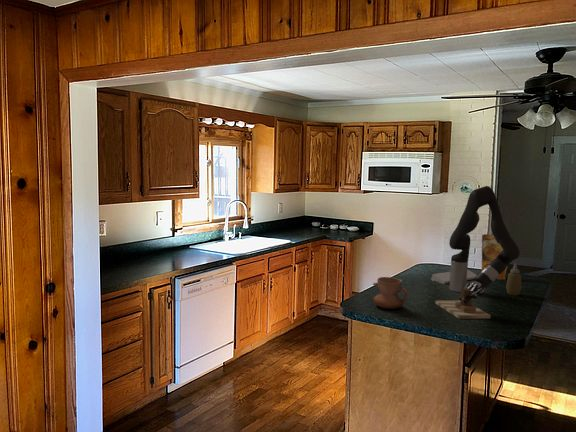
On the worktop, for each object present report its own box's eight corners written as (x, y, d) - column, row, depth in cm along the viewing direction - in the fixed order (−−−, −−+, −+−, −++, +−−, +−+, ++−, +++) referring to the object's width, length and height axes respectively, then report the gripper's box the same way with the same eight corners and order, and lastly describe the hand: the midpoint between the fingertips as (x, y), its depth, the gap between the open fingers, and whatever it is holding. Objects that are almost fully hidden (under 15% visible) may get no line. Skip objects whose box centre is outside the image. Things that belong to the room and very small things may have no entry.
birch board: (435, 303, 257) (435, 300, 257) (463, 302, 260) (463, 300, 260) (459, 318, 232) (459, 315, 232) (490, 318, 234) (490, 315, 234)
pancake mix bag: (480, 274, 334) (483, 233, 331) (509, 279, 321) (513, 237, 318) (476, 275, 329) (479, 234, 326) (506, 280, 316) (509, 237, 313)
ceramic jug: (366, 307, 246) (368, 279, 244) (377, 300, 258) (379, 274, 256) (401, 314, 237) (403, 286, 235) (410, 307, 249) (413, 280, 247)
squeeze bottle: (506, 291, 287) (508, 261, 285) (521, 294, 283) (524, 263, 281) (504, 294, 280) (507, 263, 278) (520, 297, 276) (522, 265, 274)
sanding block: (455, 306, 246) (456, 287, 245) (466, 306, 247) (467, 287, 246) (463, 312, 237) (465, 292, 236) (475, 312, 238) (477, 291, 237)
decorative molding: (477, 282, 321) (464, 275, 329) (479, 276, 320) (467, 269, 327) (442, 288, 302) (430, 280, 310) (445, 281, 301) (432, 274, 308)
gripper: (474, 268, 248) (450, 292, 248) (490, 274, 234) (464, 299, 234) (483, 278, 249) (459, 302, 249) (499, 285, 235) (474, 310, 235)
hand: (462, 300), depth 241 cm, fingers closed on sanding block, 3 cm apart
